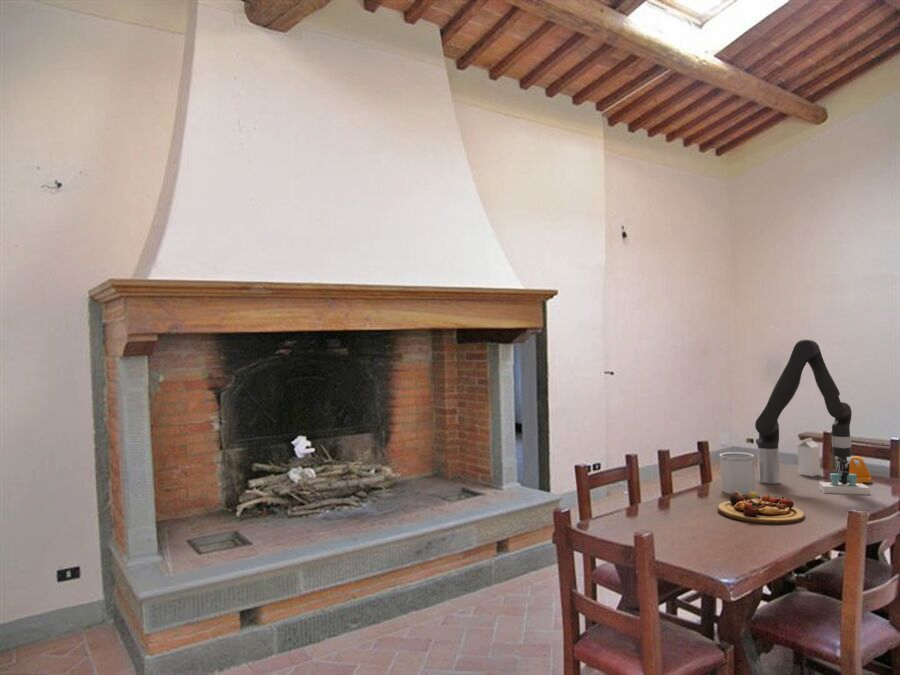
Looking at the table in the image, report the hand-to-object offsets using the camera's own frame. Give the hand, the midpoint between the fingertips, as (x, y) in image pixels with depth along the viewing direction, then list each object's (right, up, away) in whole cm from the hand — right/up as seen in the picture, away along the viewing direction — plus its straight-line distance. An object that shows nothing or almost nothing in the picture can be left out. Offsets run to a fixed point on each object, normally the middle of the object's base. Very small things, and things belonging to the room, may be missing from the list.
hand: (843, 482), depth 282 cm
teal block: (0, -2, 0) cm, 2 cm away
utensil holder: (-46, -6, +6) cm, 47 cm away
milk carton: (+6, -5, +36) cm, 37 cm away
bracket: (+19, -4, +18) cm, 26 cm away
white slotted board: (0, -4, 0) cm, 4 cm away
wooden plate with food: (-54, -6, -31) cm, 63 cm away
